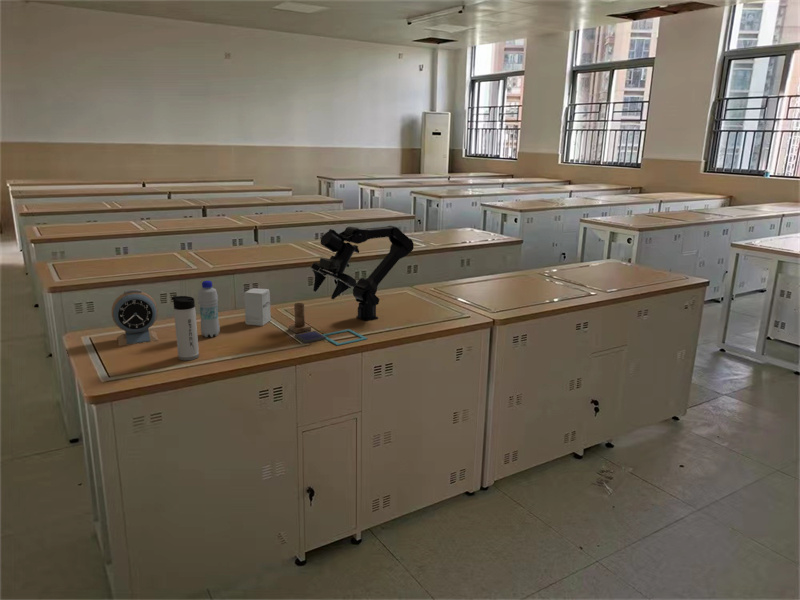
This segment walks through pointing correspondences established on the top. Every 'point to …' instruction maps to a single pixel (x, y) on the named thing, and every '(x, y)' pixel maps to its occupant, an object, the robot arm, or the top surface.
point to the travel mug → (186, 327)
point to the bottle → (208, 309)
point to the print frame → (346, 341)
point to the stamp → (299, 320)
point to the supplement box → (257, 306)
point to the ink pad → (310, 337)
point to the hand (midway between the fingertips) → (323, 295)
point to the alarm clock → (135, 317)
